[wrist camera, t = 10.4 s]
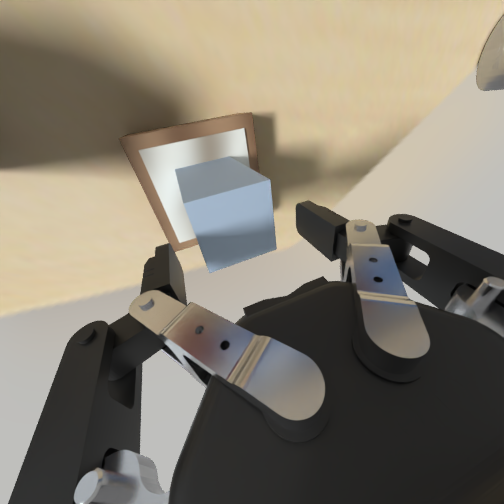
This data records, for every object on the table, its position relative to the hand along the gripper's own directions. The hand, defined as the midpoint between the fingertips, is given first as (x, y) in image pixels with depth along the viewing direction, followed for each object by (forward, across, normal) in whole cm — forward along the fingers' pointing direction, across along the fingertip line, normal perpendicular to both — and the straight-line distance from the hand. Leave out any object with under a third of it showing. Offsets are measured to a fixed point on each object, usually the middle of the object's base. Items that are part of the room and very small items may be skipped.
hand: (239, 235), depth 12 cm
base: (+14, 0, 0) cm, 14 cm away
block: (+9, 0, 0) cm, 9 cm away
